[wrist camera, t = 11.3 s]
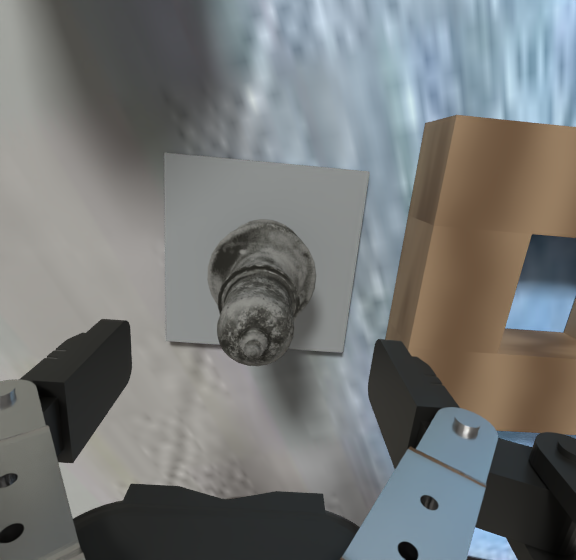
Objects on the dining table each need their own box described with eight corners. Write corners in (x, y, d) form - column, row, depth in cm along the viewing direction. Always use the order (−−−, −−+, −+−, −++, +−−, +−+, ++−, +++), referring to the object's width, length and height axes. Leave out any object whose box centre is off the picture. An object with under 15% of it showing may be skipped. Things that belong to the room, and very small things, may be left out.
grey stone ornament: (311, 302, 24) (342, 426, 13) (221, 306, 24) (173, 435, 13) (309, 212, 23) (343, 263, 11) (212, 216, 23) (147, 272, 11)
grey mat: (367, 171, 23) (369, 171, 22) (341, 348, 26) (342, 352, 26) (167, 152, 22) (163, 152, 21) (168, 337, 26) (165, 341, 25)
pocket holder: (711, 152, 23) (798, 150, 19) (609, 402, 28) (661, 439, 24) (425, 123, 22) (456, 114, 18) (376, 388, 27) (392, 424, 23)
